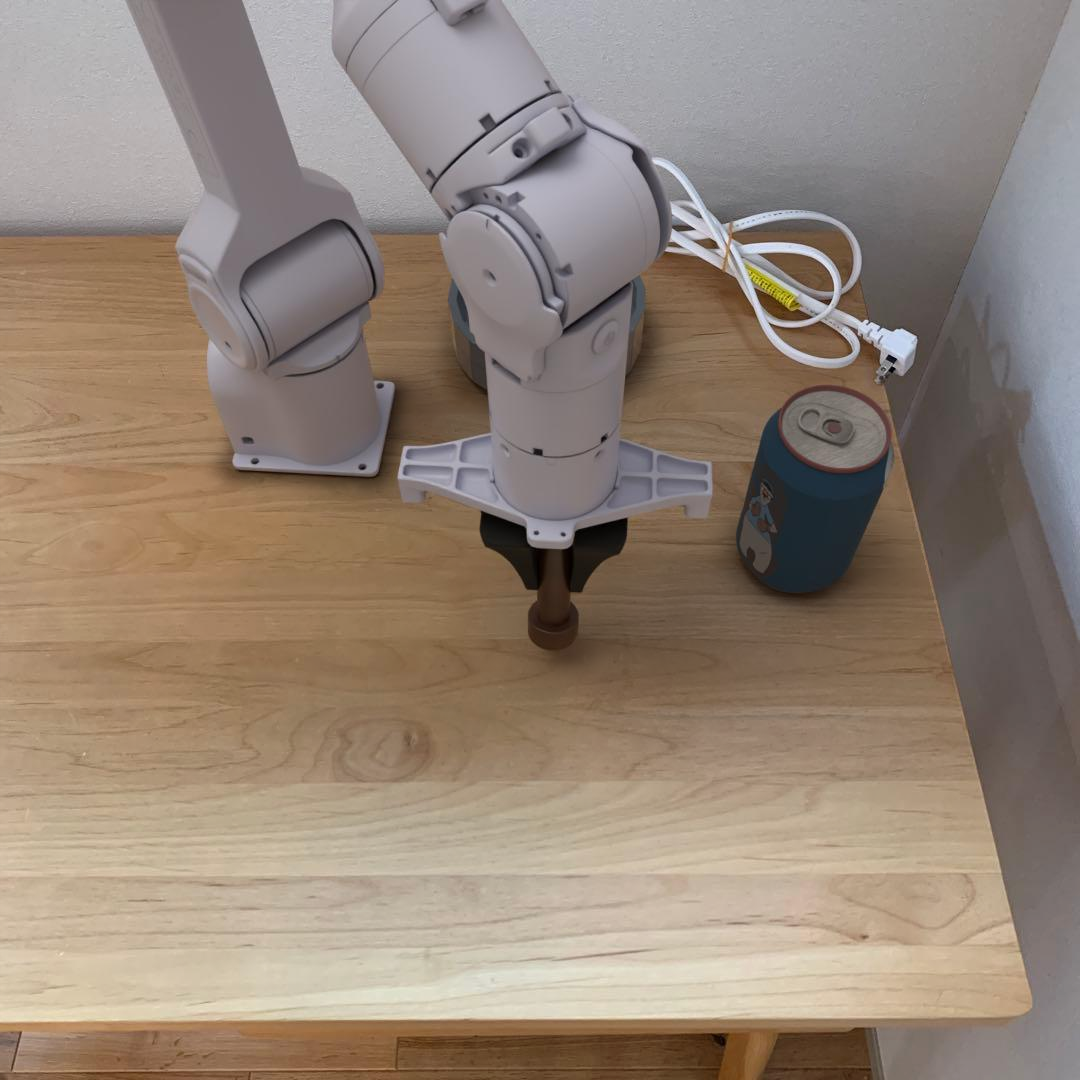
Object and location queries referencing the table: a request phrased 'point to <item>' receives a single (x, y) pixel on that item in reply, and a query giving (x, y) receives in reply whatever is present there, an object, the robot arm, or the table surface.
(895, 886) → the table surface
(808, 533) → the soda can
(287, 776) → the table surface
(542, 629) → the muddler
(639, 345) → the bowl
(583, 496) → the robot arm
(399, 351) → the table surface
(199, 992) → the table surface
